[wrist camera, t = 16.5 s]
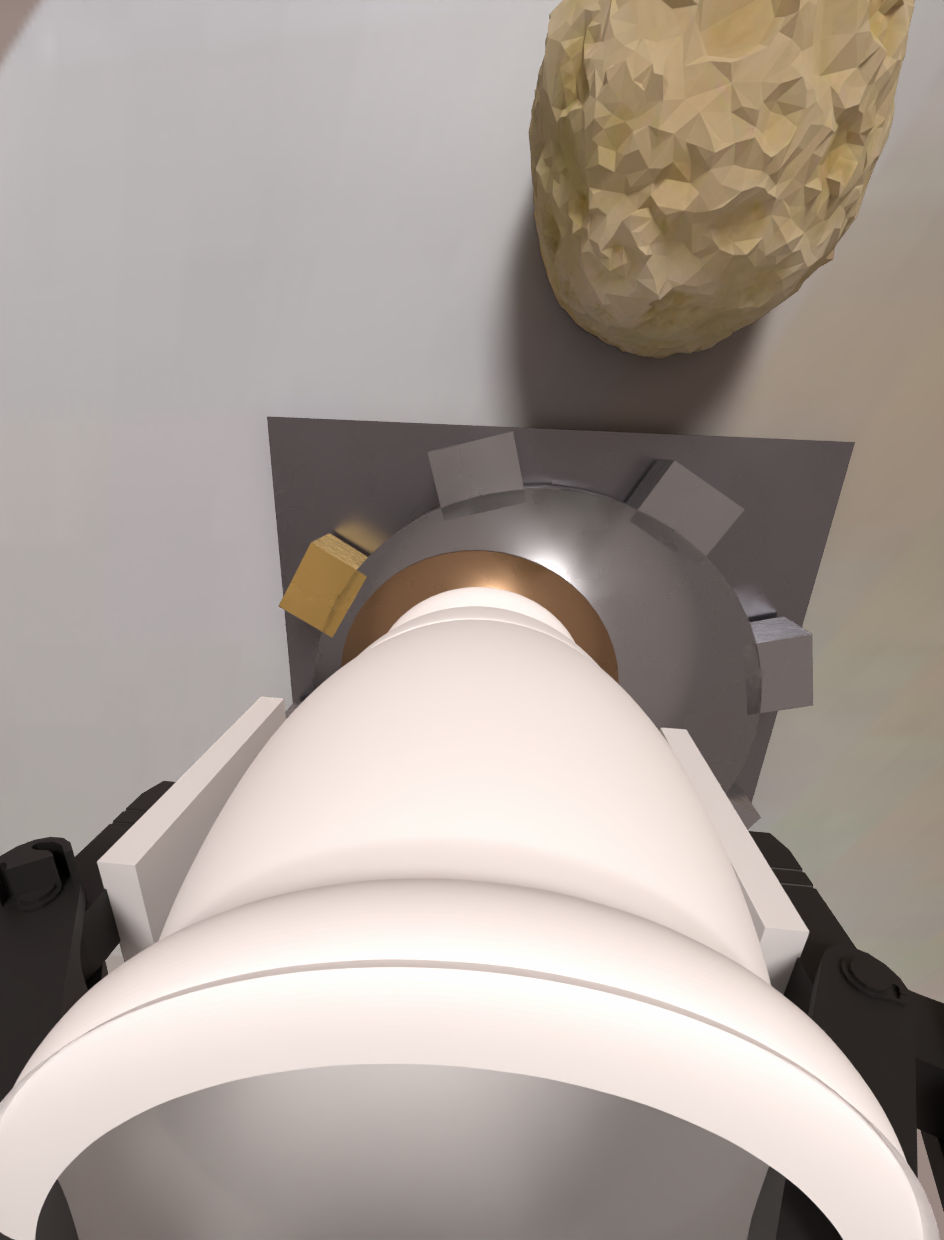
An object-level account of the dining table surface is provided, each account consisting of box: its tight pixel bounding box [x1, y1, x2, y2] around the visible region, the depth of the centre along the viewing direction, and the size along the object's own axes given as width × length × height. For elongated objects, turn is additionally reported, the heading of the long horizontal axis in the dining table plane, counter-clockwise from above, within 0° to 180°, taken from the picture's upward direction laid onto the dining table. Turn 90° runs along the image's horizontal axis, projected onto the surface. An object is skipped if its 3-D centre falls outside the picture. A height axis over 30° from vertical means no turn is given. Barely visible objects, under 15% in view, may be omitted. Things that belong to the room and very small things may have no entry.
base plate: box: [267, 417, 855, 802], centre depth 23 cm, size 22×22×1 cm
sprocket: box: [279, 431, 813, 830], centre depth 18 cm, size 22×22×8 cm
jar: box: [0, 587, 940, 1240], centre depth 12 cm, size 11×10×15 cm
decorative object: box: [529, 0, 915, 359], centre depth 14 cm, size 9×10×10 cm
